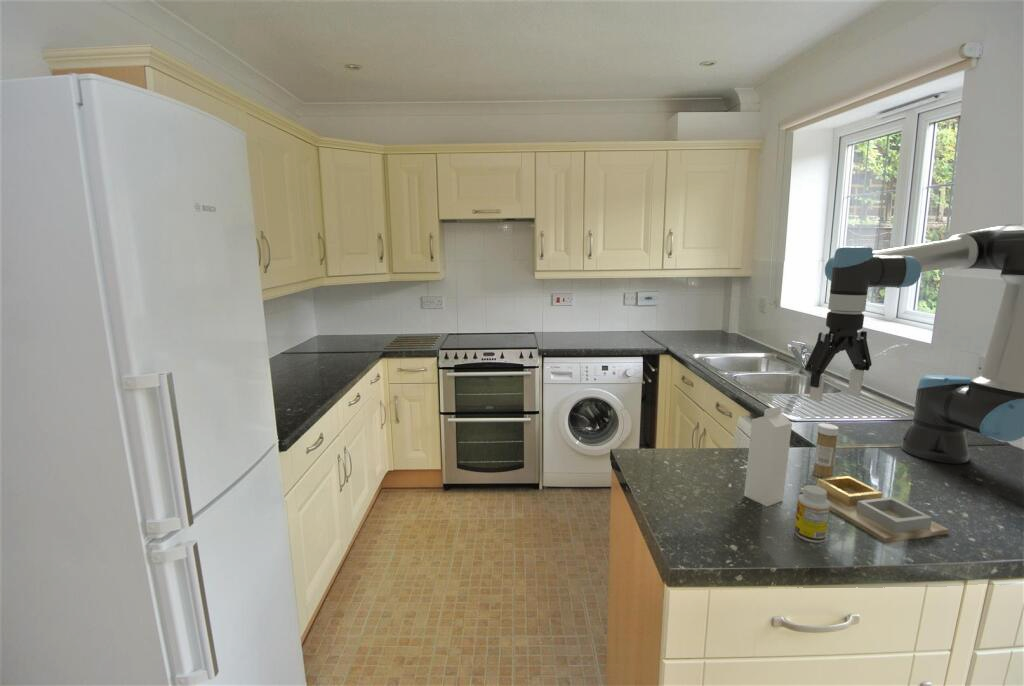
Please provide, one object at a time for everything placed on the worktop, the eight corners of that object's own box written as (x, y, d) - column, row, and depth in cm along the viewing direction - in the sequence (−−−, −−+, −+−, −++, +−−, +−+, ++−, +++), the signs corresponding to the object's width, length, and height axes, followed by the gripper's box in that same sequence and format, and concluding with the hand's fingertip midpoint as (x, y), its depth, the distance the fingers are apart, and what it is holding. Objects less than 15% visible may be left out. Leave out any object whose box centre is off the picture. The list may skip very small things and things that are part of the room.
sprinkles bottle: (835, 476, 131) (842, 426, 129) (827, 480, 129) (833, 429, 126) (817, 470, 135) (823, 421, 133) (808, 474, 133) (814, 424, 130)
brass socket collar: (847, 485, 124) (848, 475, 123) (881, 503, 115) (882, 492, 115) (816, 488, 122) (817, 479, 122) (848, 507, 113) (849, 496, 113)
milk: (783, 501, 118) (794, 409, 114) (766, 507, 115) (778, 413, 111) (759, 490, 123) (769, 402, 119) (743, 495, 120) (753, 406, 116)
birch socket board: (855, 486, 126) (855, 482, 126) (947, 533, 105) (948, 529, 105) (800, 492, 122) (800, 488, 122) (884, 542, 101) (885, 538, 101)
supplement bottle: (797, 526, 107) (802, 480, 105) (827, 535, 103) (834, 488, 102) (791, 537, 103) (796, 489, 101) (822, 547, 99) (829, 498, 97)
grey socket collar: (889, 507, 113) (891, 496, 113) (930, 528, 105) (932, 517, 104) (856, 511, 111) (857, 500, 111) (894, 533, 103) (896, 522, 102)
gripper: (865, 308, 130) (854, 388, 134) (794, 312, 121) (785, 398, 125) (896, 311, 123) (884, 396, 127) (823, 315, 114) (812, 406, 118)
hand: (834, 397), depth 126 cm, fingers open, 13 cm apart
